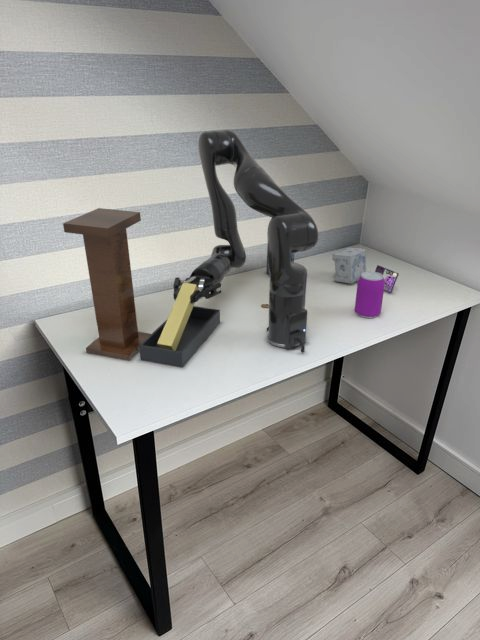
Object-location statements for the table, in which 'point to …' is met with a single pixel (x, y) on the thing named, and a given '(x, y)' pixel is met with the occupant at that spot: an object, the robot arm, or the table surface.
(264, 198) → the robot arm
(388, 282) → the game card
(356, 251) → the incense holder
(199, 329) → the pan
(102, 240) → the shelf stand
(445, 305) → the table surface
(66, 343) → the table surface
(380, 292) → the beverage can
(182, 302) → the butter
